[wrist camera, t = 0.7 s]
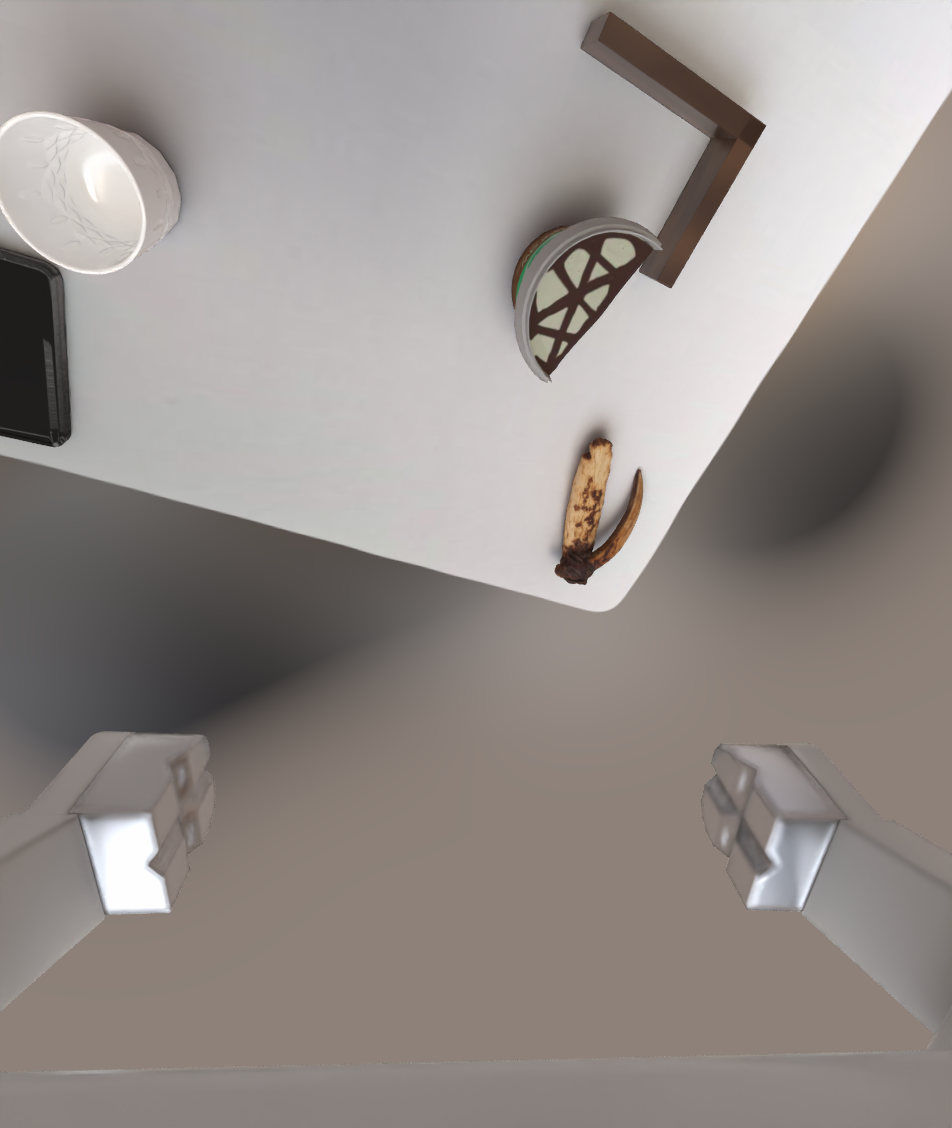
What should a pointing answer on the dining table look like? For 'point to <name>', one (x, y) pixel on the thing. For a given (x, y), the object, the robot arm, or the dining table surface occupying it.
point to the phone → (32, 352)
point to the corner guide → (698, 107)
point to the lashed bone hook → (593, 516)
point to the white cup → (84, 190)
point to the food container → (572, 284)
